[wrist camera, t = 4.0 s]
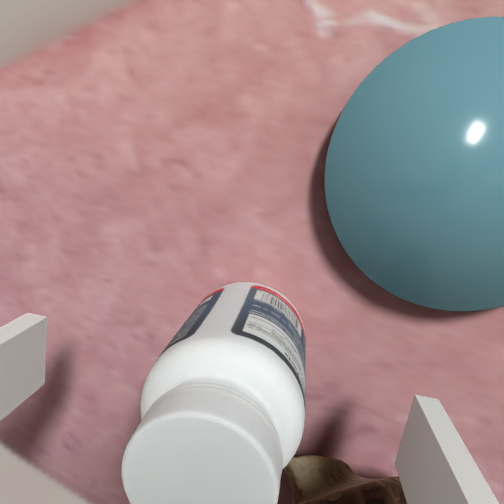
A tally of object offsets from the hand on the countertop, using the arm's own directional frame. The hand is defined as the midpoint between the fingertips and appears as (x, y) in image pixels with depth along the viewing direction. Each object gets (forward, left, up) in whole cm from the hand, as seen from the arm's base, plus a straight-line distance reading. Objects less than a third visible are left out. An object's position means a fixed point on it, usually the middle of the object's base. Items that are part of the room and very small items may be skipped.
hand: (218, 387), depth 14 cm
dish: (-11, -1, -5) cm, 12 cm away
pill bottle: (0, 0, -5) cm, 5 cm away
